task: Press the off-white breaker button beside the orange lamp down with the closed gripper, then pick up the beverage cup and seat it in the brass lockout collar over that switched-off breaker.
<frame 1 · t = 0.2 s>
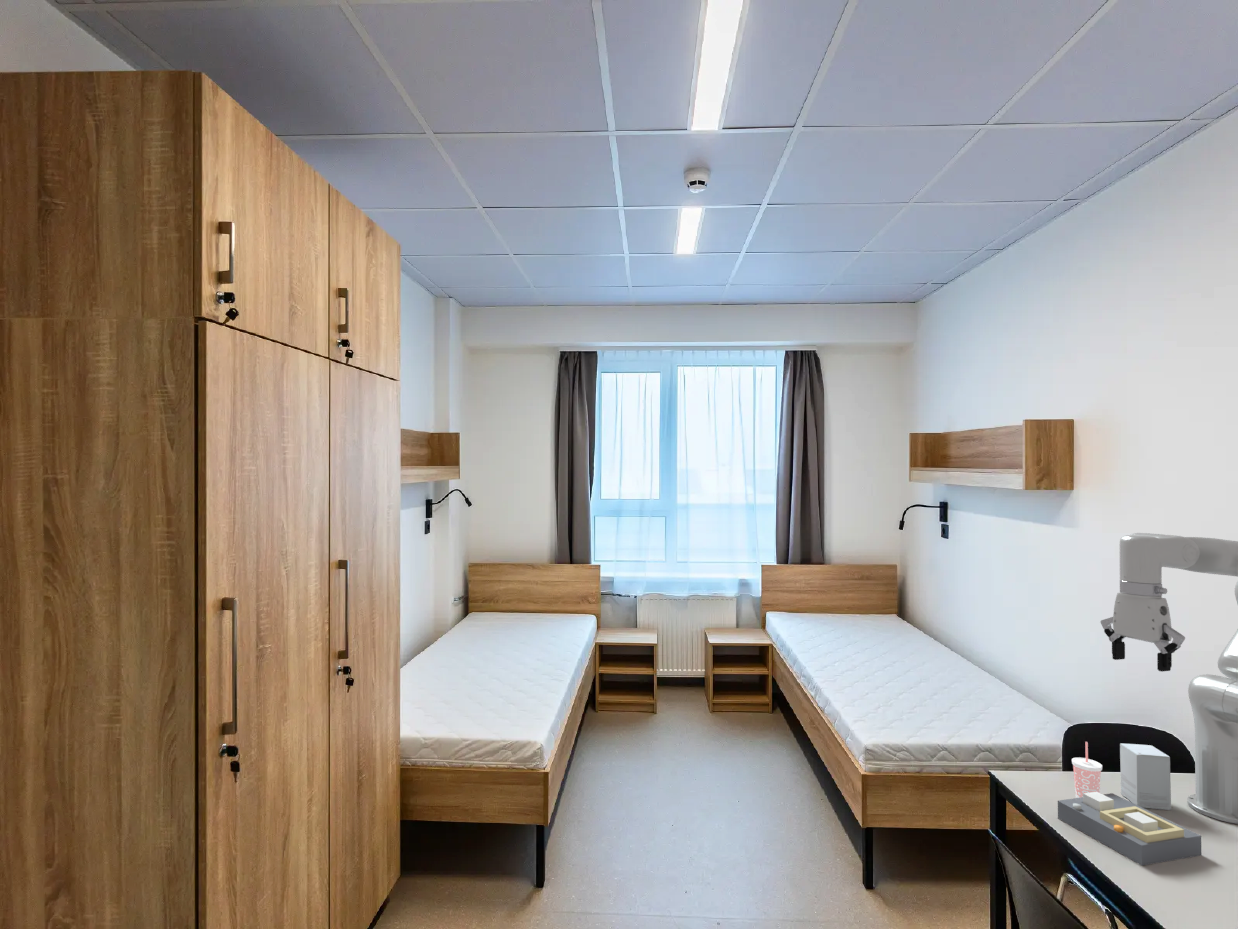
hand: (1140, 664, 148), 36 cm above the table, tool pointing down, fingers open, 9 cm apart
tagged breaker: (1140, 827, 139), point 4 cm above the table, slide at 0.0 cm
gray panel board: (1121, 833, 143), on the table
beverage cup: (1087, 800, 159), on the table
supplement box: (1145, 802, 158), on the table
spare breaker: (1098, 805, 148), point 4 cm above the table, slide at 0.0 cm
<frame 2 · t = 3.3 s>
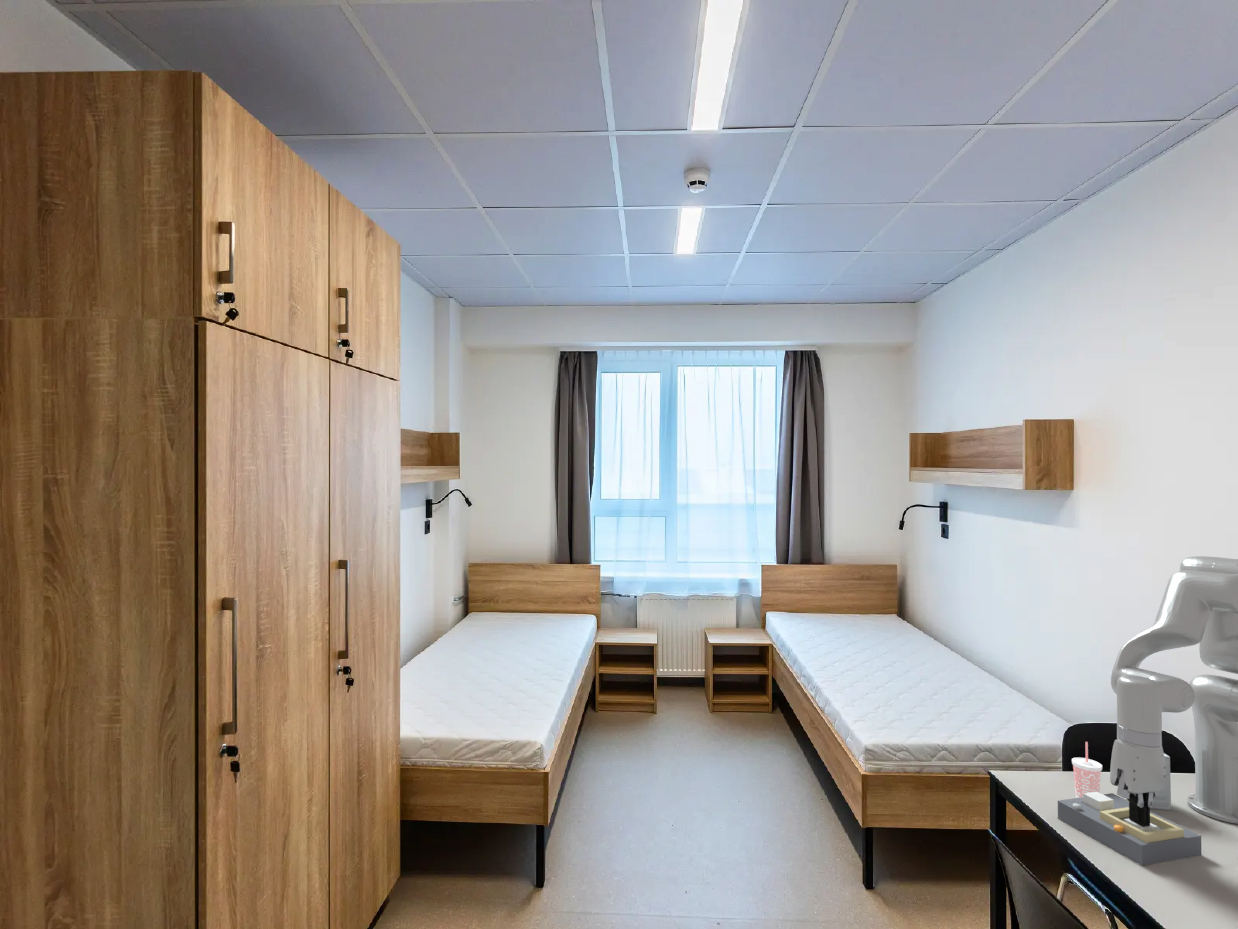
hand: (1139, 823, 138), 5 cm above the table, tool pointing down, fingers closed
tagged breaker: (1140, 832, 138), point 3 cm above the table, slide at -1.1 cm, touching gripper
everything else where it was.
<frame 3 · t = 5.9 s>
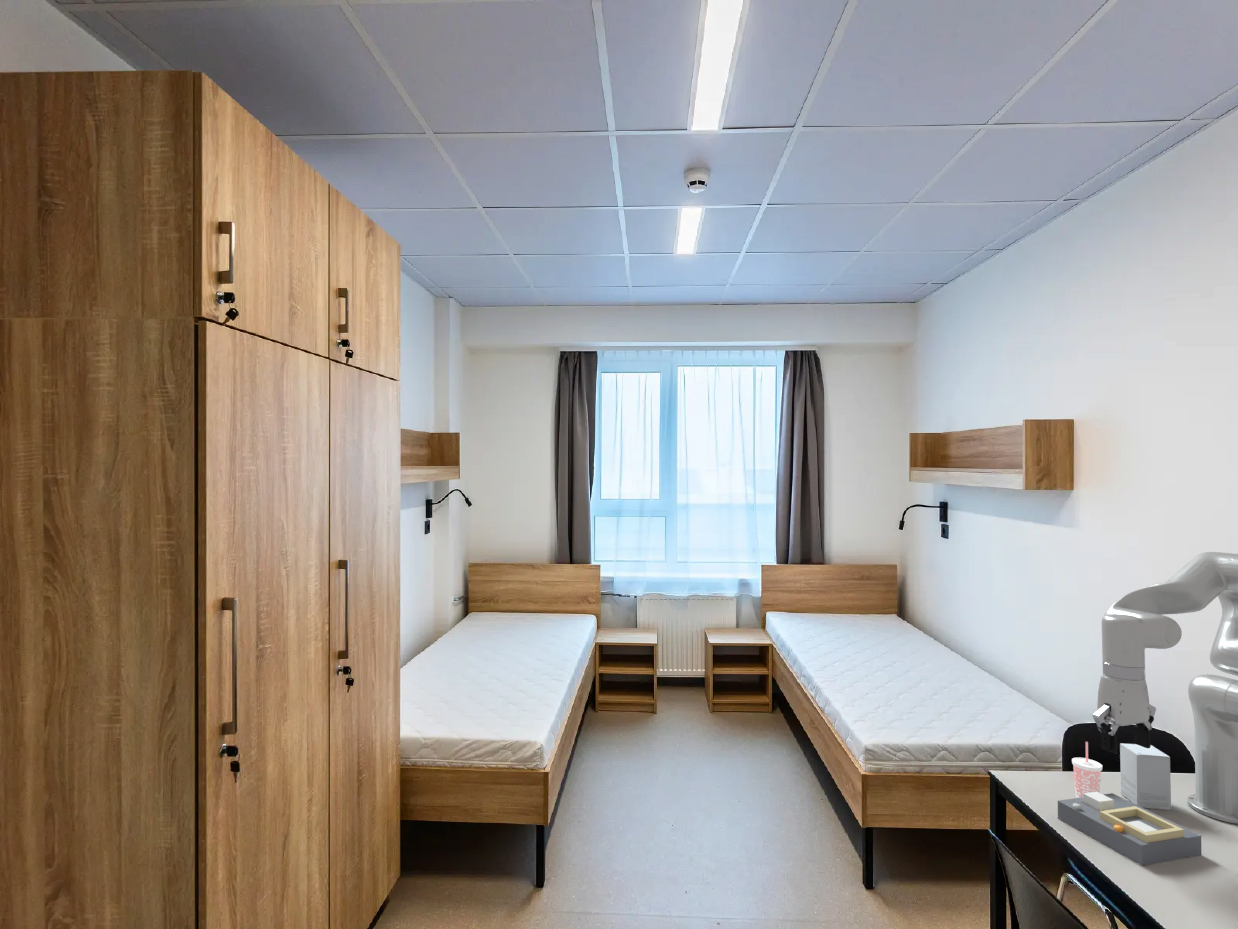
hand: (1125, 748, 144), 18 cm above the table, tool pointing down, fingers open, 9 cm apart
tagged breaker: (1140, 836, 138), point 2 cm above the table, slide at -1.9 cm
everything else where it was.
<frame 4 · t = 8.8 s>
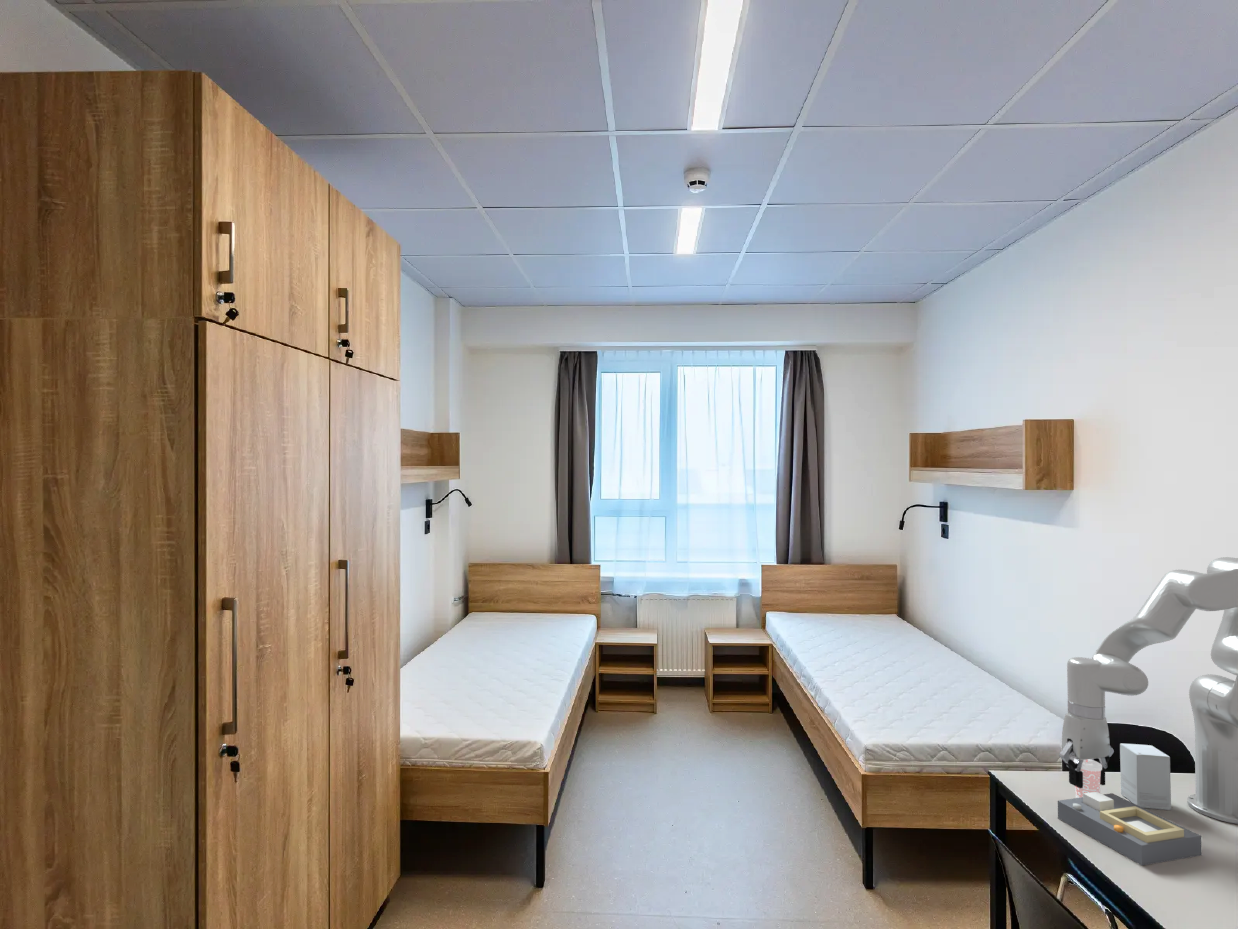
hand: (1087, 783, 159), 4 cm above the table, tool pointing down, fingers closed on beverage cup, 6 cm apart
beverage cup: (1087, 800, 159), on the table, touching gripper
everything else where it was.
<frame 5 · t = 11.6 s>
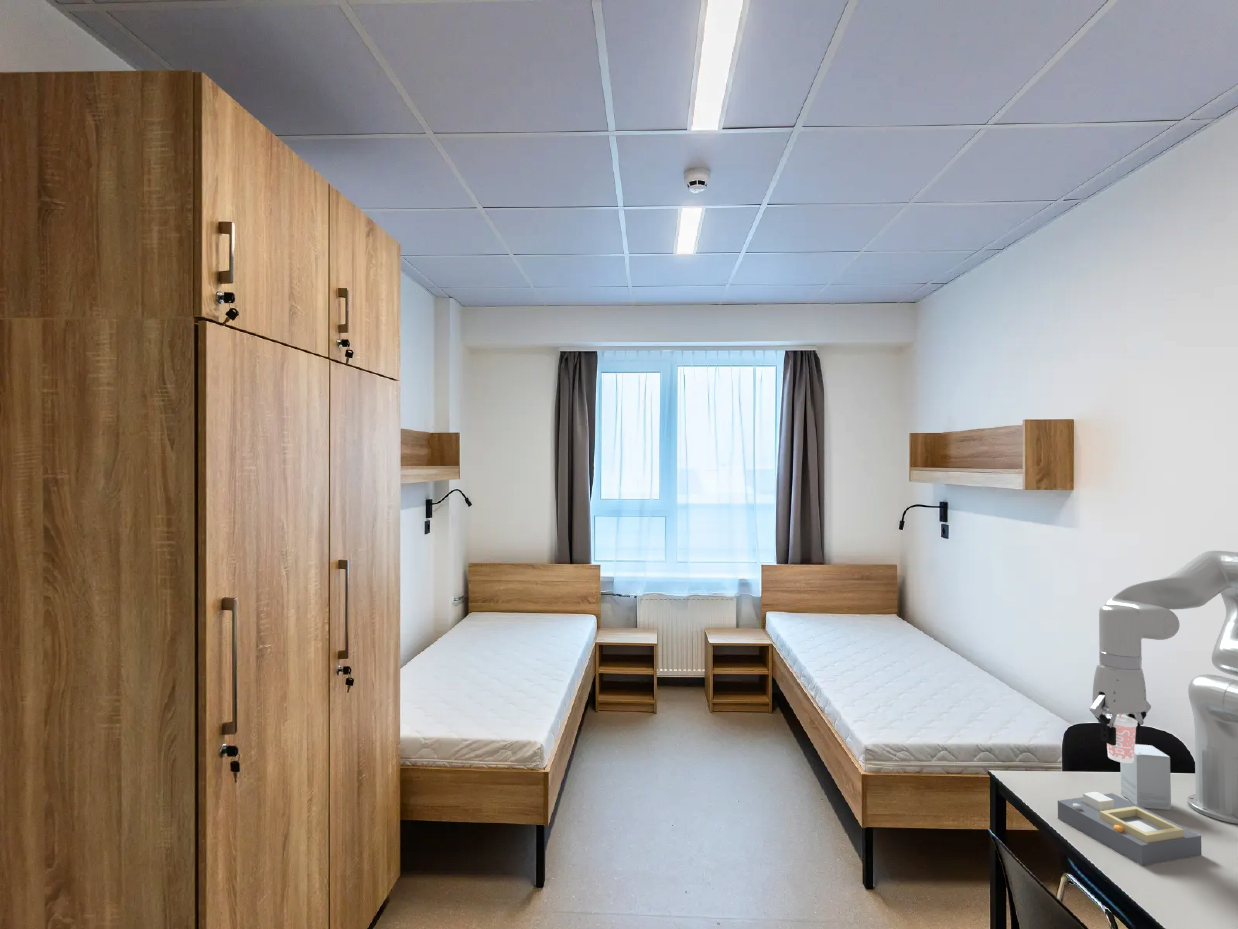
hand: (1120, 741, 145), 20 cm above the table, tool pointing down, fingers closed on beverage cup, 6 cm apart
beverage cup: (1120, 759, 145), point 16 cm above the table, touching gripper
everything else where it was.
when the fingers open (9 cm above the table, at t = 14.6 s): beverage cup stays where it is, resting on gray panel board.
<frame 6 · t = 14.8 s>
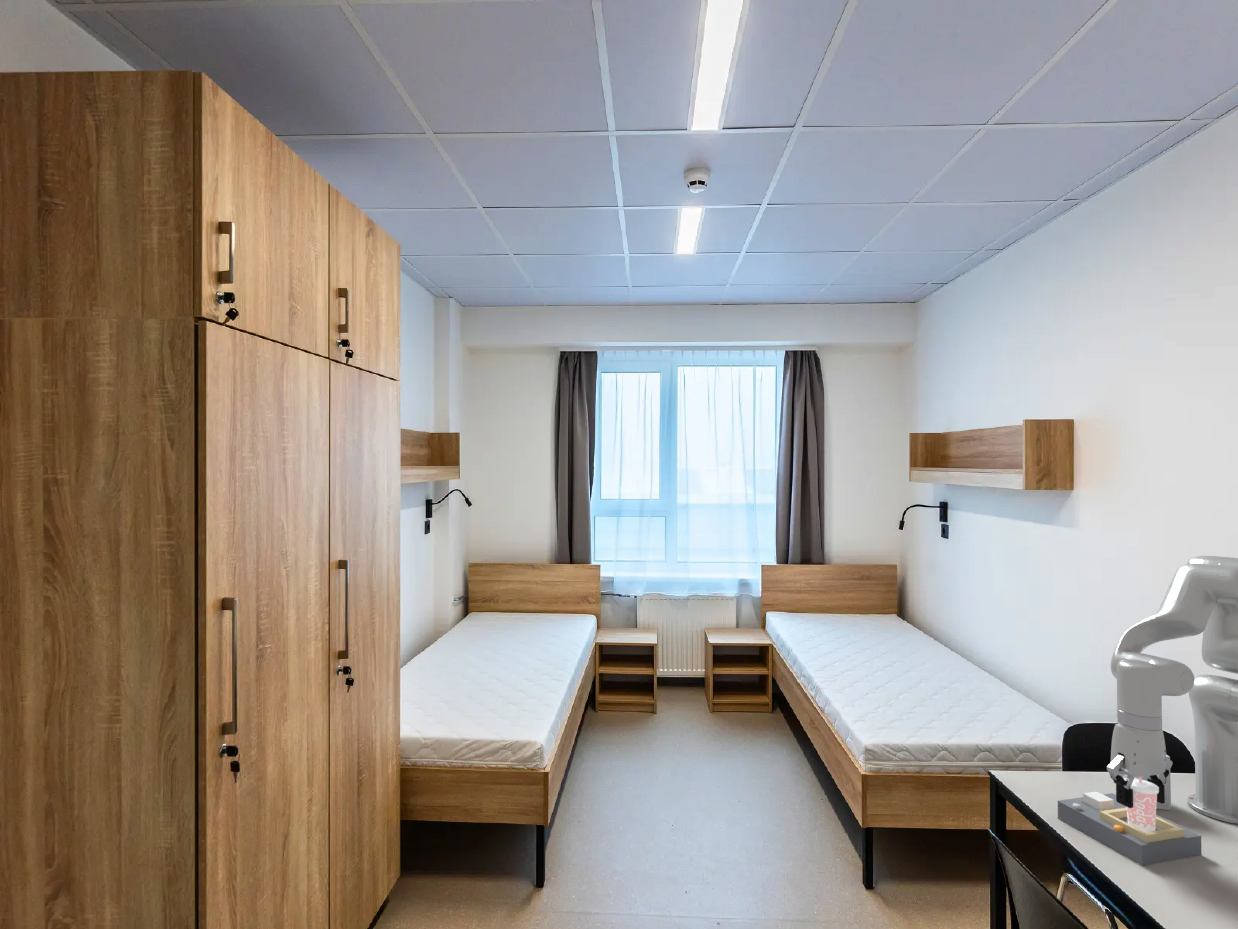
hand: (1140, 802, 139), 9 cm above the table, tool pointing down, fingers open, 8 cm apart
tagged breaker: (1140, 837, 138), point 2 cm above the table, slide at -2.1 cm
beverage cup: (1141, 827, 139), point 4 cm above the table, touching gray panel board
everything else where it was.
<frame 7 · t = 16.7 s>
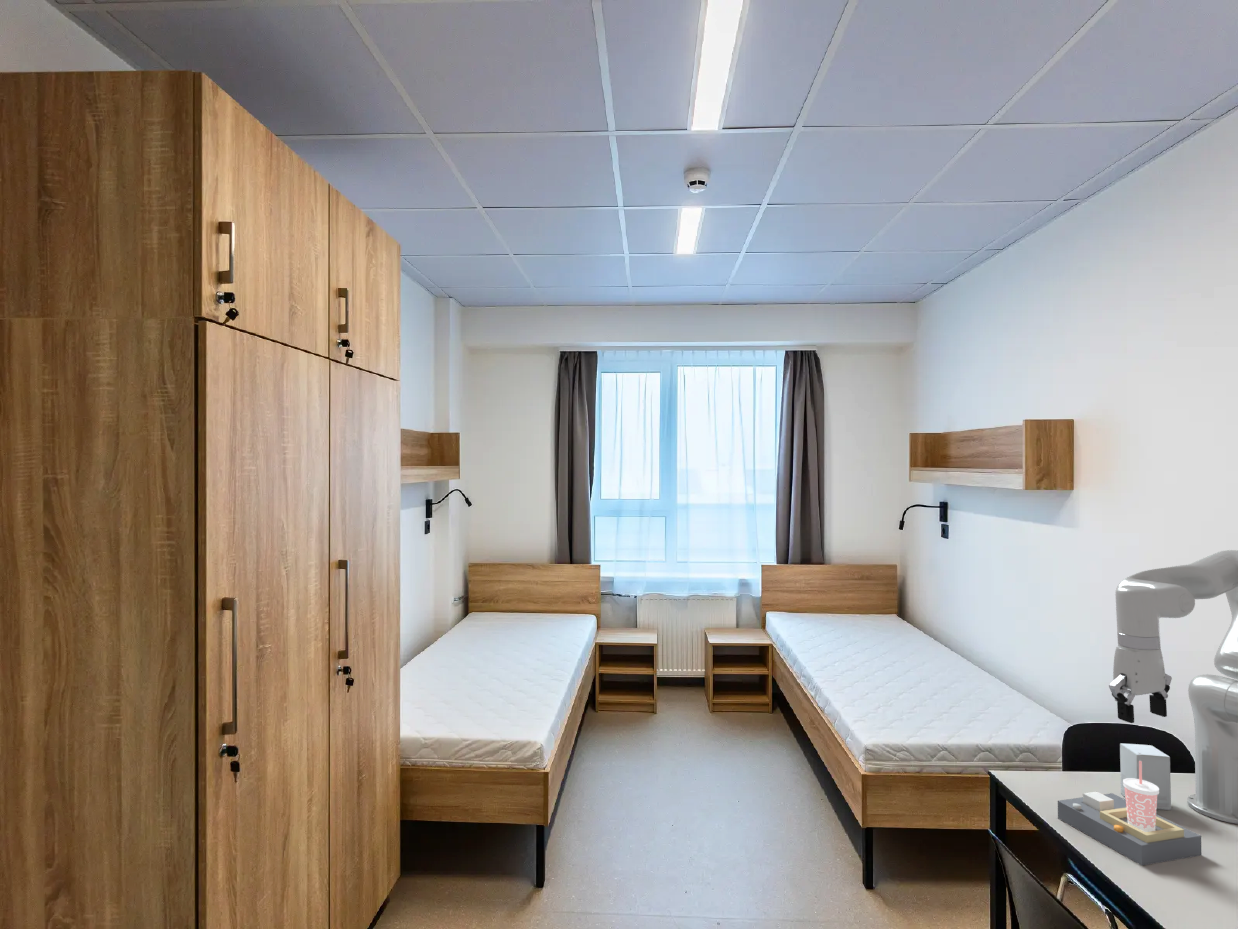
hand: (1142, 717, 146), 25 cm above the table, tool pointing down, fingers open, 9 cm apart
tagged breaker: (1140, 837, 138), point 2 cm above the table, slide at -2.1 cm, touching beverage cup
beverage cup: (1141, 828, 139), point 4 cm above the table, touching gray panel board, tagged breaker
everything else where it was.
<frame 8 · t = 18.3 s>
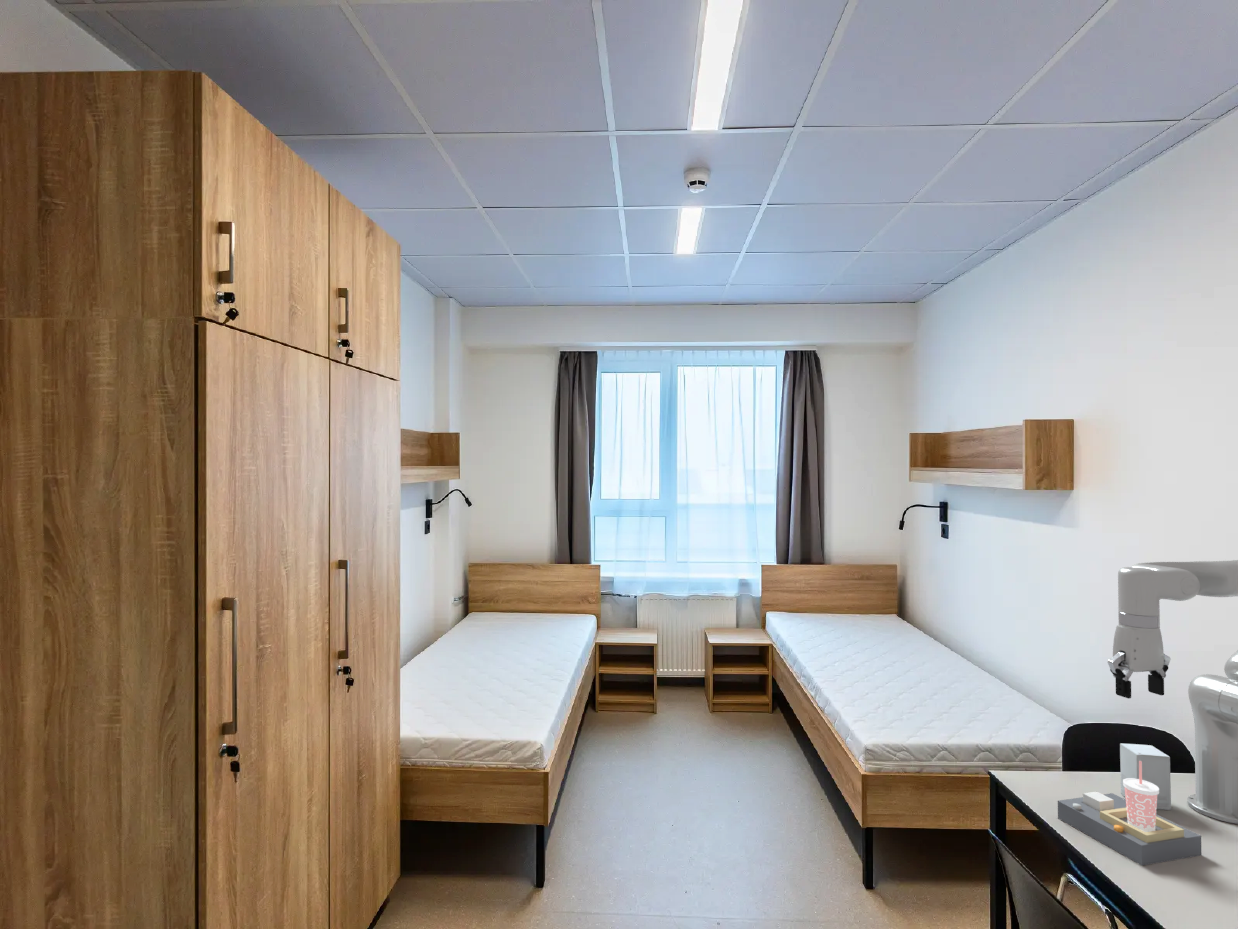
hand: (1139, 695, 151), 28 cm above the table, tool pointing down, fingers open, 9 cm apart
nothing on the table moved.
at the end: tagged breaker slide at -2.1 cm; beverage cup 0.3 cm from the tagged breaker (horizontally); beverage cup tilted 1° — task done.
